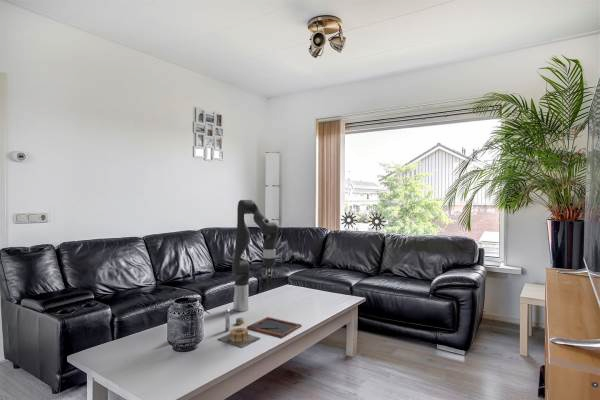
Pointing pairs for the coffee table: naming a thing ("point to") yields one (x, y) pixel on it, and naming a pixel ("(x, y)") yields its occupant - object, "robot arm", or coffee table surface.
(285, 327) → the picture frame
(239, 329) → the cake on slate board
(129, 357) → the coffee table surface
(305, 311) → the coffee table surface
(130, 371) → the coffee table surface
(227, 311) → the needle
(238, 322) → the bead
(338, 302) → the coffee table surface
